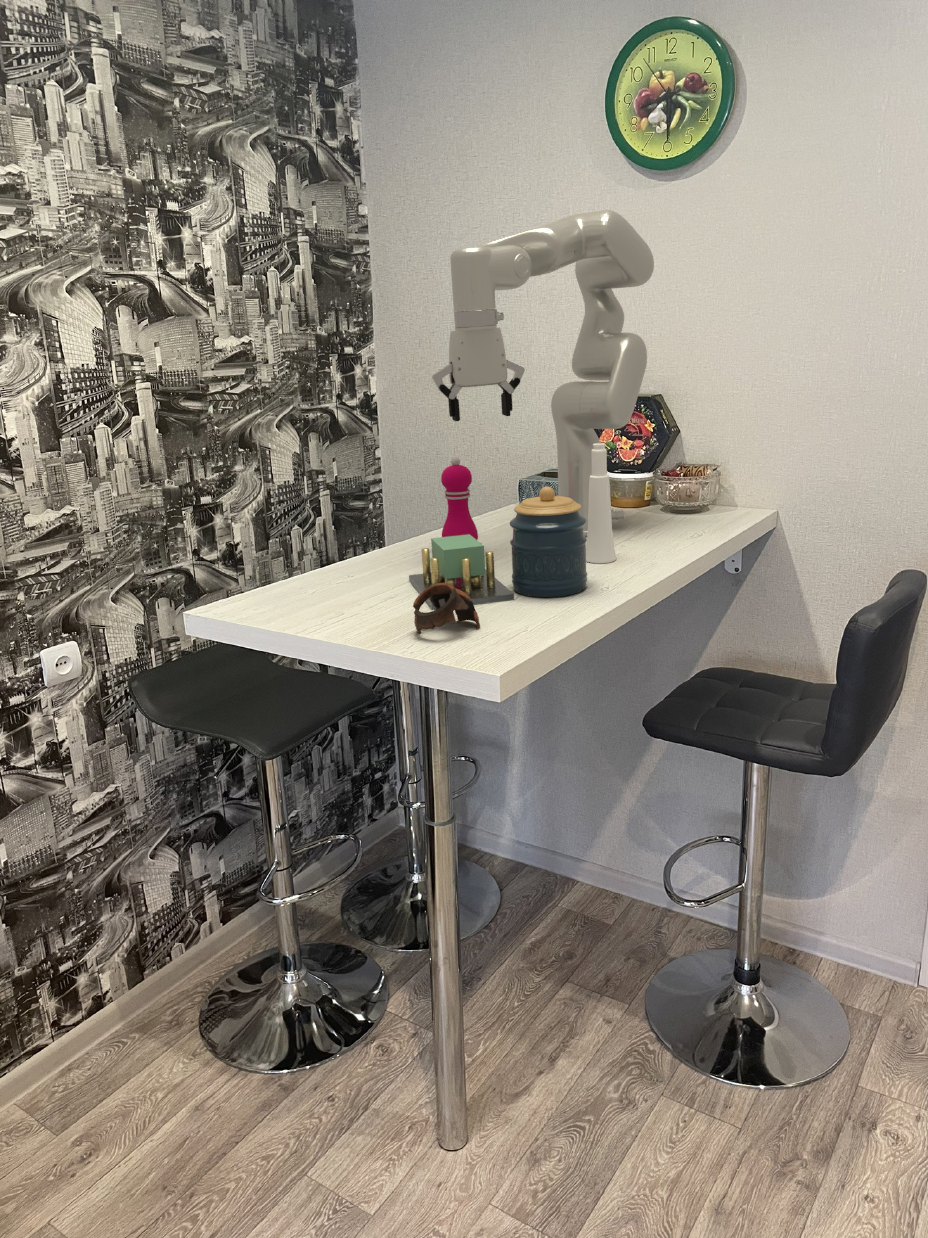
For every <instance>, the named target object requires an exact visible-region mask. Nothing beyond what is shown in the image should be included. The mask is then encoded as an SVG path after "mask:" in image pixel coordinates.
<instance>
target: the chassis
mask: <svg viewBox="0 0 928 1238" xmlns="http://www.w3.org/2000/svg"><path fill="white" fill-rule="evenodd" d="M480 543H481V544H482V545H483V543H482V542H480ZM430 552H431V551H430V548H429V547H428V548H426V547H425V548H421V561H422V562H421V565H422V573H417V574H409V575H408V581H409V580H410V581H411V582H410V581H409V582H410V583H411V585H412V584H413V585H414V586H413V585H412V586H413V588H414V589H416V591H417V592H418V593H419V595H420V594H421V593H422V592H423V591H424V590H425V589H427V588H428V587H430V586H433V585H435V584H438V583H448V584H451V585H453V586H454V587H455V589H459V590H461V591H463V592H464V593H466V594H467V595H468V596H469V597H470V599H471V601H472V602H473V605H474V606H475V605H482V604H489V603H496V602H497V603H498V602H506V601H513V600H515V593H514V592H513V591H511V590H510V589H509V588H508V587H506V586H505V585H504V584H503V583H502V582H501V581H500V580H499V579H497V578H496V576H495V573H496V571H495V557H494V555H495V553H494V551H484V555H485V575H477V576H471V568H470V558H462V574H463V577H459V578H451V579H445V578H444V577H443V576H442V575H441V574H440V571H439V558H437V557H434V558H432V557H431V553H430ZM450 596H451V593H450ZM425 602H426V604H427V605H428V607H429V608H430V609H431V611H434V610H436V608H435V606H434V605H433V603H432V602H431V601H430V598H429V599H428V600H426V601H425Z"/></svg>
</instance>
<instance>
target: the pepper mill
mask: <svg viewBox="0 0 928 1238" xmlns="http://www.w3.org/2000/svg"><path fill="white" fill-rule="evenodd" d="M450 463H451V465H449V466H447V467H446V468H444V469H443V471H442V473H441V477H440V478H441V479H440V481H441V482H440V483H441V484H442V486H443V487H444V488H445V490H444V498H445V499H446V501H447V515H446V519H445V521H444V524H443V527H442V530H441V537H449V536H459V535H468V534H470V535H471V536H472V537H474V538H475V539H476V540H477V541H478V539H479V533H478V529H477V528H478V527H477V526H476V523H475V522H474V520H473V517H472V516H471V513H470V510H469V498H471V493H470V492H471V490H470V489H469V487H470V486H471V484H472V482H473V477H472V476H473V475H472V473H471V471H470V468H468V467H467V466H465V465H463V464H461V460H460V458H459V457H458V456H454V457H452V458H451V460H450Z"/></svg>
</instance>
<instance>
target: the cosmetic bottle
mask: <svg viewBox="0 0 928 1238" xmlns="http://www.w3.org/2000/svg"><path fill="white" fill-rule="evenodd" d="M593 447H594V449H592V475H591V476H590V479H589V506H588V532H587V536H586V539H587V541H586V563H589V562H590V564H608V563H612V562H615V561H616V560H617V555H616V549H615V543H614V536H613V535H614V534H613V520H612V518H611V510H612V505H611V504H612V503H611V502H612V501H611V500H612V499H611V484H610V483H611V482H610V475H609V474H608V468H607V467H608V464H607V463H608V461H607V459H608V458H607V456H608V455H607V453H608V452H607V448H606V443H603V442H600V443H595V444H593Z"/></svg>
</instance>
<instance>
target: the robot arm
mask: <svg viewBox="0 0 928 1238" xmlns="http://www.w3.org/2000/svg"><path fill="white" fill-rule="evenodd" d="M449 259H450V273H451V275H450V276H451V287H452V288H451V289H452V290H451V291H452V306H453V317H454V330H451V331H450V334H449V345H448V365H446V366H444V367H443V368H441V369H440V370H438V371H437V372H435V373H433V374H432V376H431V379H432V381H433V382H434V384H435V386H436V388H437V389H438V391H439V392H441V393H442V394H443V395H444V396H445V398H447V400H448V412H449V417H450V418H452V421H454V422H459V421H461V413H460V412H461V411H460V400H459V399H458V398H457V395H458V394H459V393H460V391H461V389H462V388H474V387H484V386H495V385H496V386H498V387H499V388H500V389H501V391H502V393H501V395H500V400H501V402H500V403H501V414H502V415H503V416H505V417H511V412H512V411H513V394H514V392H515V390H516V388H517V387H518V386H519V385H520V384H521V380H522V378H523V376H524V373H525V371H526V369H525V367H523V366H521V365H519V364H518V363H515V362H512V361H510V360H509V359H507V355H506V348H505V344H504V339H503V334H502V330H501V328H500V327H497V325H498V322H500V321H504V319H505V315H504V312H499V311H498V309H497V308H496V307H497V306H496V291H507V290H513V289H517V288H520V287H522V286H523V285H525V284H526V283H527V282H528V281H529V278H531V277H538V276H542V275H547V274H550V273H554V272H555V271H557V270H560V269H562V268H564V267H565V268H566V266H569V265H572V264H574V263H575V264H574V266H575V268H574V272H575V278H576V281H577V284H578V287H579V290H580V292H581V295H582V299H583V303H584V316H583V320H582V324H581V327H580V329H579V330H580V331H579V334H578V338H577V341H576V344H575V347H574V350H573V354H572V357H571V370H572V372H573V373H574V375H575V376H576V377H577V378H578V379H582V380H585V381H570V382H567V383H566V382H565V383H564V384H562V385H560V386H558V387H557V388H556V389H555V390H554V392H553V395H552V397H551V399H550V400H551V403H550V407H551V408H550V409H551V410H550V411H551V415H552V420H553V424H554V430H555V435H556V451H557V455H556V456H557V486H558V487H557V489H558V490H557V493H558V495H557V496H563V497H569V498H571V499H572V500H573V501H575V502H576V503H578V504H580V505H581V509H580V510H579V513H580V515H582V516H583V517H585V518H586V523H585V524H584V526H583V531H584V536H585V537H587V532H588V506H589V479H590V476H591V475H592V449H594V447H593V444H595V443H601V441H600V438H599V437H598V436H599V435H597V433H596V431H595V429H596V430H597V429H598V430H617V429H618V430H619V429H621V428H624V427H625V426H627V424H629V422H630V420H631V417H632V416H633V413H634V410H635V408H636V405H637V401H638V397H639V394H640V391H641V386H642V384H643V379H644V377H645V374H646V373H645V372H646V369H647V368H646V367H647V363H648V351H647V345H646V343H645V342H644V340H643V338H642V337H641V336H640V335H638V334H636V333H633V332H622V331H623V327H624V324H625V312H624V309H623V307H622V305H621V304H620V302H619V299H618V298H617V297H616V295H615V293H614V291H613V289H624V288H635V287H641V286H643V285H645V284H646V283H647V282H649V280H650V279H651V277H652V276H653V273H654V269H655V268H654V267H655V262H654V256H653V252H652V250H651V248H650V246H649V245H648V244H647V242H646V240H644V238H643V237H642V236H641V235H640V234H639V233H638V231H636V229H635V228H634V226H632V225H631V223H630V222H629V220H627V219H625V218H624V217H623V216H622V215H621V214H619V213H618V212H616V211H614V210H611V209H605V210H597V211H591V212H584V213H583V212H582V213H575V214H572V215H568V216H566V217H563V218H560V219H558V220H555V221H553V222H550V223H547V224H544V225H541V226H538V227H535V228H532V229H529V230H526V231H522V232H518V233H516V234H513V235H510V236H506V237H503V238H500V239H497V240H493V241H490V242H486V243H484V244H483V243H482V244H480V245H478V246H470V247H462V248H461V247H460V248H457V249H455V250H453V251H452V252H451V254H450V258H449ZM508 369H509V370H511V371H513V373H514V374H513V376H512V379H510V381H507V380H508ZM446 376H449V383H450V384H451V385H450V387H448V386H446V385H445V383H444V381H443V378H445V377H446ZM611 518H612V521H613V520H623V519H625V512H624V510H622V509H620V510H615V511H614V510H613V509H611Z"/></svg>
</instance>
